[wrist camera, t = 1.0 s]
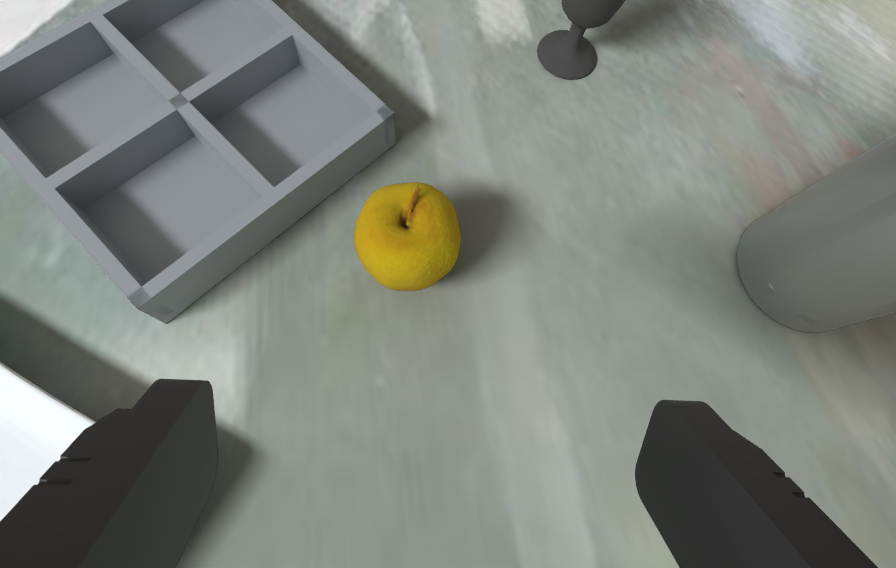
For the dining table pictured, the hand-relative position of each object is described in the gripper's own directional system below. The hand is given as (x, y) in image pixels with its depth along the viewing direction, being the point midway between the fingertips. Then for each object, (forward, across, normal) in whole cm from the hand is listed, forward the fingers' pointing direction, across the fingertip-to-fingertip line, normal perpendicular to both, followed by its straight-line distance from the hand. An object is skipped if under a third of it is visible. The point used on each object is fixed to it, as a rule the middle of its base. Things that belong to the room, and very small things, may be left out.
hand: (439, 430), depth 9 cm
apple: (+24, 0, +6) cm, 25 cm away
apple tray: (+30, +15, -1) cm, 34 cm away
